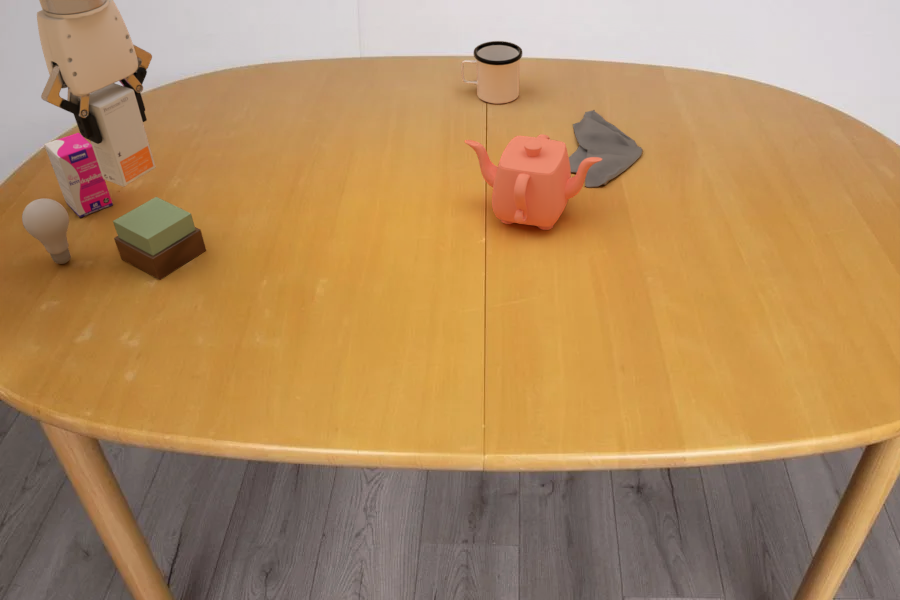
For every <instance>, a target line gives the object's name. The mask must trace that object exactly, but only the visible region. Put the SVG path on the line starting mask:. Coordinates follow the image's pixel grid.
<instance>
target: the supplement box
mask: <svg viewBox="0 0 900 600" xmlns="http://www.w3.org/2000/svg"><path fill="white" fill-rule="evenodd" d="M43 145H44V148H45V151H46V153H47V156H48V159H49V161H50V164H51V167H52V169H53V172H54V175H55V177H56V180H57V183H58V186H59V188H60V191H61V193H62V196H63V198H64V201H65V203H66V205H67V206H68V207H69V208H70V209H71V210H72V211H73V212H74V213H75V214H76V216H77V217H78V218H80V219H81V218H84V217H86V216H88V215H90V214H91V215H92V214H94V213H96V212H99V211H101V210H104V209H107V208H110V207H112V206H113V205H114V203H113V199H112V197H111V194H110V190H109V188H108V185H107V182H106V180H105V179H103V177H102V174H101V171H100V168H99V165H98V162H97V159H96V156H95V153H94V150H93V147H92V144H91V142H90V141H89V140H88V139H86V138H84V137H83V136H82V135H81V133H80V132H76V133H73V134H70V135H67V136H64V137H61V138H57V139H55V140H52V141H49V142H46V143H44V144H43Z"/></svg>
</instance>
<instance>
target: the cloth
mask: <svg viewBox="0 0 900 600" xmlns="http://www.w3.org/2000/svg"><path fill="white" fill-rule="evenodd" d="M572 127H573V132H574V136H575V138H576V141H577V143H578V147H577V149H576V150H575V151H574V152H573V153H571V154H570V155H569V156H568V157H569V162H570V169H571V173H575V174H576V173H577V171H578V168H579V165H580V163H581V162H582V161H583V160H584V159H586V158H589V157H599V158H602V160H601V161H599V162H597V163H595V164H593V165H592V166H591V167H590V168H589V169H588V172H587V174H586V178H585V182H584V187H585V188H599V187H601V186H602V185H604V186H606V185H608V183H609V182H610V181H612V180H613V179H615V178H616V177H618V176H619V175H621V174H622V173H623V172H624V171H626V170H627V169H629V168H630V167H631V166H632V165H634V163H636V162H637V160H638V159H639V158H640V157H641V156H642V154H643V148H642V147H641V146H640V145H638V144H637V142H636V141H635V140H634V139H633V138H631V137H630V136H628V135H627V134H626V133H624V132H623V131H622V130H620V128H618V127H617V126H616V125H614V124H612V123H610V122H608V121H607V120H606V119H605V118H604V117H603V116H602V115H601V114H599V113H598V112H597V111H595V109H593V110H589V111H585V112H584V114H583V117H582V118H581V120H580V121H578V122H575V123H572Z"/></svg>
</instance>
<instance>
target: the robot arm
mask: <svg viewBox="0 0 900 600" xmlns="http://www.w3.org/2000/svg"><path fill="white" fill-rule="evenodd" d="M38 1H39V4H40V7H41V10H39V11H37V12H36V22H37V30H38V36H39V42H40V45H41V49H42V53H43V58H44V61H45V65H46V68H47V72H48V74H49V77H48V78H47V80H46V81H47V82H46V83H45V86H44V88H43V91H42V93H41V95H40V98H41V100H43V101H45V102H47V103H48V104H51V105H53V106H55V107H58V108H60V109H62V110H63V111H65V112H69V113H71V114H73V117H74V119H75V123H76V125H77V127H78V131H79V133H80V134H81V135H82V136H83V137H84V138H85V139H86V140H87V141H89V142H91V141H92V142H94V143H97V144H99V143H101V142H102V137H101V134H100V131H99V128H98V125H97V122H96V119H95V117H94V115H92V114H90V113H89V99H90V93H92V92H95V91H97V90H99V89H102V88H104V87H106V86H109V85H111V84H113V83H115V84H116V83H118V82H119V83H120V85H121V86H124V87H127V88H130V89H133V90H134V93H135V96H136V100H137V103H138V107H139V110H140V114H141V117H142V121H143V123H145V122H147V120H148V119H147V115H146V107H145V103H144V100H143V97H142V92H143V91H144V86H143V84H144V81H145V79H146V76H147V73H148V70H147V69H148V68H149V66H150V63H151V61H152V60H153V55H152V53H151V52H148V51H147V50H145V49H143V48H141V47H140V46H137V45H135V44H134V43H133V40H132V38H131V35H130V33H129V30H128V27H127V24H126V23H125V21H124V18H123V16H122V14H121V12H120V10H119V8H118V7H117V5H116V3H115V1H114V0H38ZM62 89H67V98H66V99H65V98H63V97H62V96H61V95H60V92H61V90H62Z"/></svg>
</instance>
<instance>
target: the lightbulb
mask: <svg viewBox="0 0 900 600" xmlns="http://www.w3.org/2000/svg"><path fill="white" fill-rule="evenodd" d="M21 221H22V226H23V228H24V229H25V231H26V232H27V233H28V234H29V235H30V236H31V237H33V238H35V240H37V241H39V242H40V243H41V244H42V245H43V247H44V248H45V250H46V252H47V253H48V254H49V255H50V257H51V259H52V261H53V262H54V263H55V264H58V265H60V264H61V265H64V264H67V263H68V262H69V261H70V260H71V258H72V255H71V252H70V249H69V242H68V241H69V240H68V237H67V235H68V230H69V225H70V216H69V213H68V211H67V209H66V208H65V207H64V206H63V205H62V204H61V203H60V202H58V201H57V200H55V199H52V198H46V197H45V198H43V197H42V198H37V199H34V200H32V201H30V202H29V203H28V204H27V205H26V206H25V207H24V209H23V211H22V215H21Z"/></svg>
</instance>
